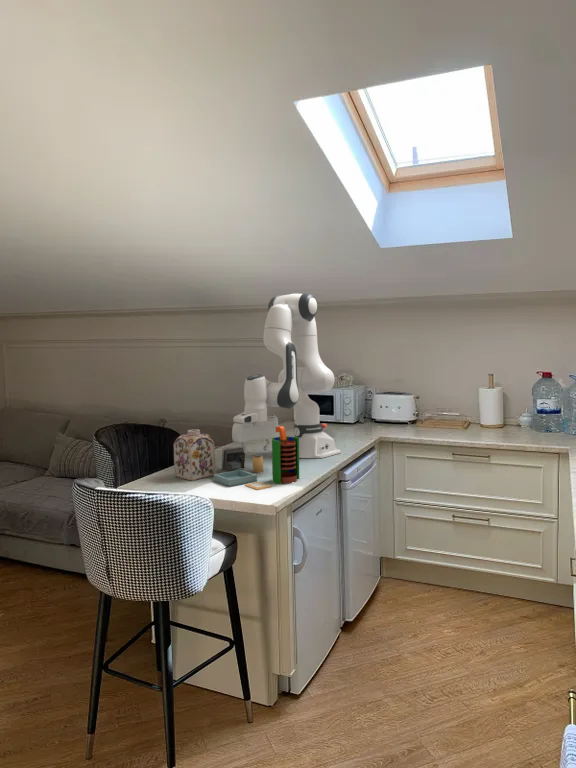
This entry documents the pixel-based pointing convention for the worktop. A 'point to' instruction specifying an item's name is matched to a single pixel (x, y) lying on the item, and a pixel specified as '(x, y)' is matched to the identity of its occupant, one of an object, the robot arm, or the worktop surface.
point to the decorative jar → (194, 456)
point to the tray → (235, 478)
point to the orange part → (257, 463)
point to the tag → (258, 485)
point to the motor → (285, 457)
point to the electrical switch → (233, 455)
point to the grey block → (233, 466)
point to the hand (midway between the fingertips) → (256, 451)
